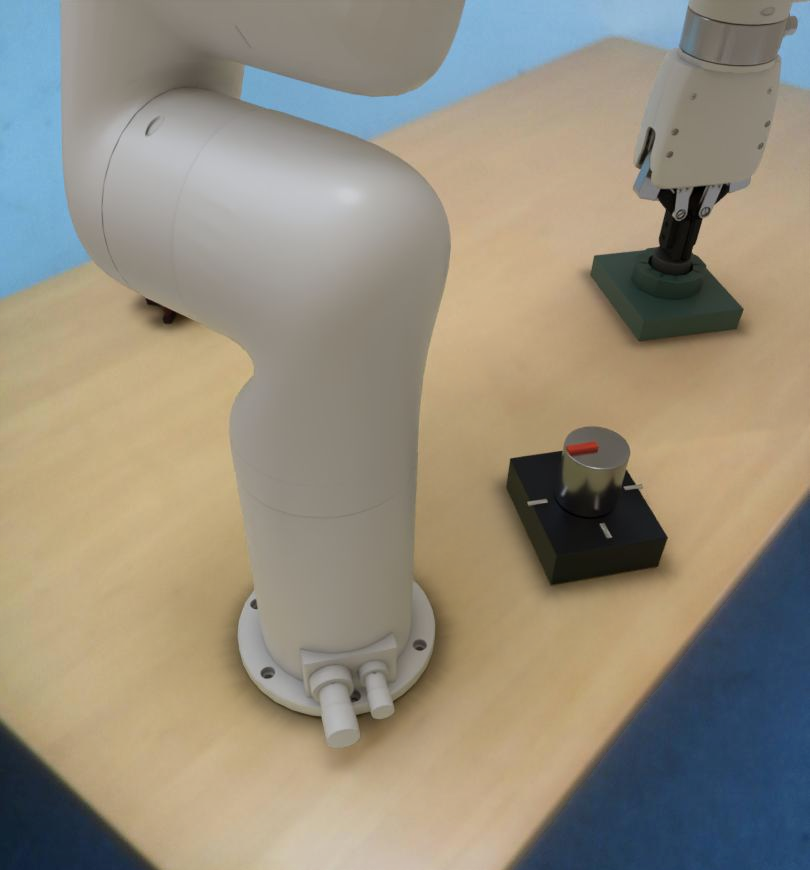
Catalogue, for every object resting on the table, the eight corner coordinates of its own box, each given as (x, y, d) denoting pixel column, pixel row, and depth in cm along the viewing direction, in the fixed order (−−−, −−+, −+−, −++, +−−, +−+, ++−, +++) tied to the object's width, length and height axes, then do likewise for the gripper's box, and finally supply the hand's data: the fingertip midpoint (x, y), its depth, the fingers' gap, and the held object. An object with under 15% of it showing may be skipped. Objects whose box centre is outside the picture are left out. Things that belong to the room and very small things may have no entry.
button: (694, 278, 82) (699, 261, 80) (659, 282, 81) (663, 265, 80) (677, 259, 84) (682, 242, 83) (643, 263, 83) (647, 246, 82)
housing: (737, 329, 82) (750, 291, 79) (638, 341, 80) (648, 303, 77) (680, 265, 90) (690, 228, 87) (589, 275, 88) (596, 238, 85)
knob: (602, 470, 63) (615, 418, 60) (627, 512, 60) (642, 460, 57) (545, 479, 63) (555, 427, 59) (568, 522, 60) (579, 470, 56)
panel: (662, 566, 61) (673, 535, 59) (546, 586, 60) (552, 555, 57) (607, 472, 68) (615, 440, 65) (501, 488, 66) (506, 456, 64)
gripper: (791, 15, 72) (727, 226, 85) (622, 26, 69) (584, 241, 83) (843, 46, 67) (766, 265, 80) (663, 59, 64) (615, 283, 78)
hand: (674, 252), depth 81 cm, fingers closed
